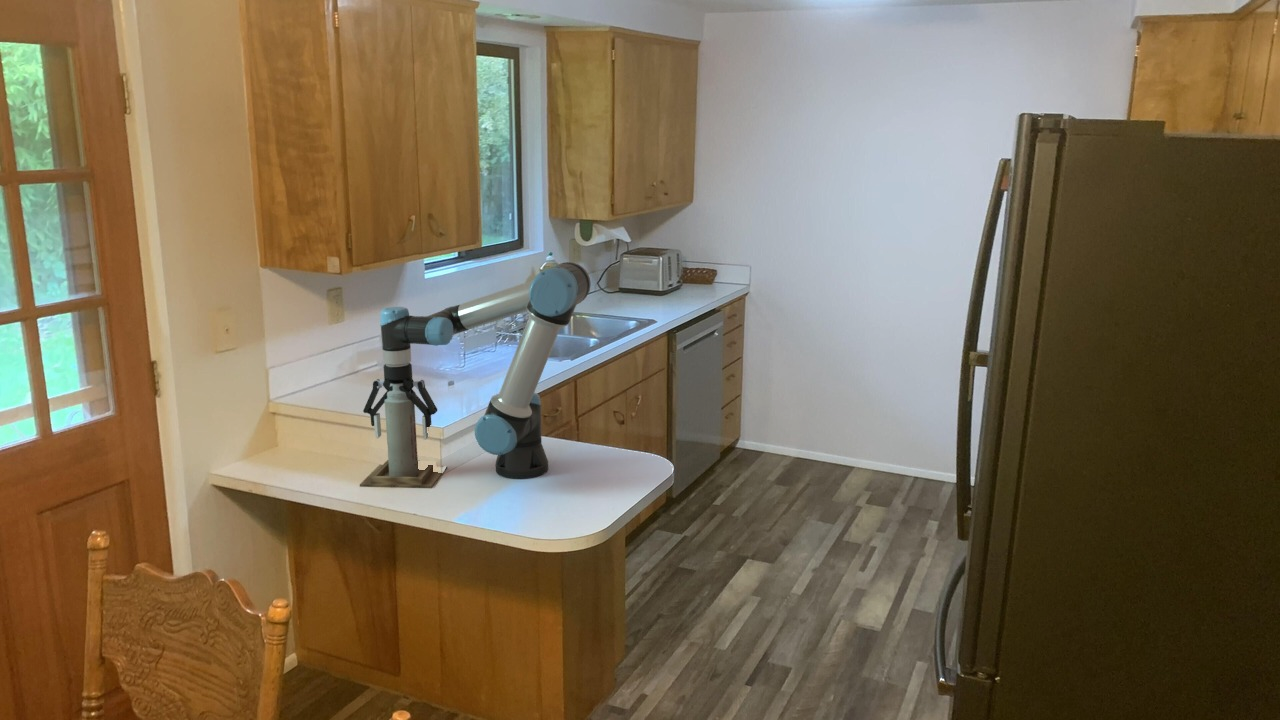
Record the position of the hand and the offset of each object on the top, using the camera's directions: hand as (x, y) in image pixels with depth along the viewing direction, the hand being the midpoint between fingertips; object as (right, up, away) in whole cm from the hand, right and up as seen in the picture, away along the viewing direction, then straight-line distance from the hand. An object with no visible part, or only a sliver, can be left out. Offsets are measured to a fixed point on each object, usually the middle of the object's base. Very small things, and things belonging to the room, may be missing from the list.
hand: (402, 437), depth 258 cm
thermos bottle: (0, -11, +3) cm, 11 cm away
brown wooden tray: (0, -11, +3) cm, 12 cm away
